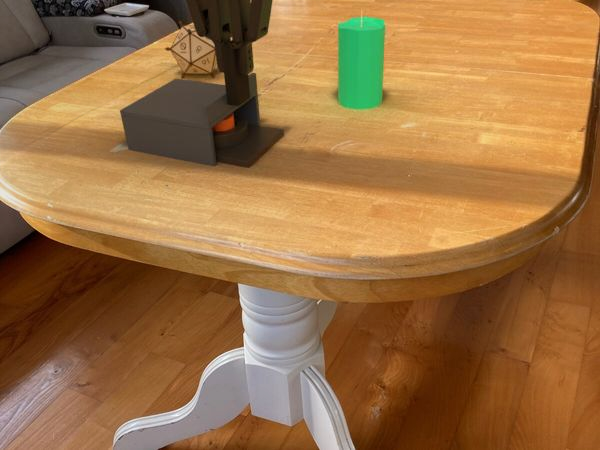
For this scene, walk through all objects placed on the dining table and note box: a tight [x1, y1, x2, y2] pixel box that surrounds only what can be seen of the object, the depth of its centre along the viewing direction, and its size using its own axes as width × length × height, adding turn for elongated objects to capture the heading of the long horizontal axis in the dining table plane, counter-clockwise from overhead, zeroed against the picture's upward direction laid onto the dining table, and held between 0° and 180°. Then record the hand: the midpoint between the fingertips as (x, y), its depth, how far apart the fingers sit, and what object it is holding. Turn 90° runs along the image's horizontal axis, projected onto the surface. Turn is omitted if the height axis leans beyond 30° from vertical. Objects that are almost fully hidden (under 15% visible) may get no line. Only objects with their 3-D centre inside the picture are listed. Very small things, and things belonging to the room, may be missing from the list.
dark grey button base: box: [212, 115, 285, 169], centre depth 70 cm, size 16×9×2 cm, turn 66°
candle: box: [337, 10, 386, 110], centre depth 76 cm, size 6×6×12 cm
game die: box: [164, 20, 217, 79], centre depth 89 cm, size 9×8×10 cm
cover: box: [119, 72, 261, 167], centre depth 70 cm, size 12×11×7 cm
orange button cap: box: [212, 113, 235, 132], centre depth 69 cm, size 3×3×2 cm
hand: (238, 100), depth 66 cm, fingers closed
